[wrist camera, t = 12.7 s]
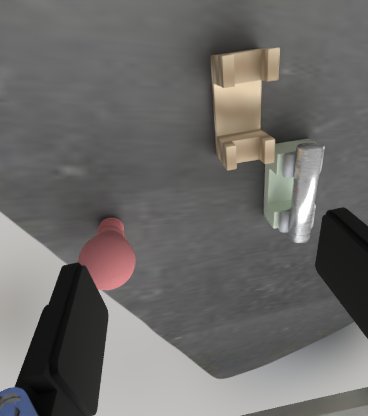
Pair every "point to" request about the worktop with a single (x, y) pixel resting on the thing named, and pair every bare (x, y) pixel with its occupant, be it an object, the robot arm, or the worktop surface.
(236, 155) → the wooden cradle stand
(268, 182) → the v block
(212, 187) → the worktop surface
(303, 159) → the axle
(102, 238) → the light bulb
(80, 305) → the robot arm
